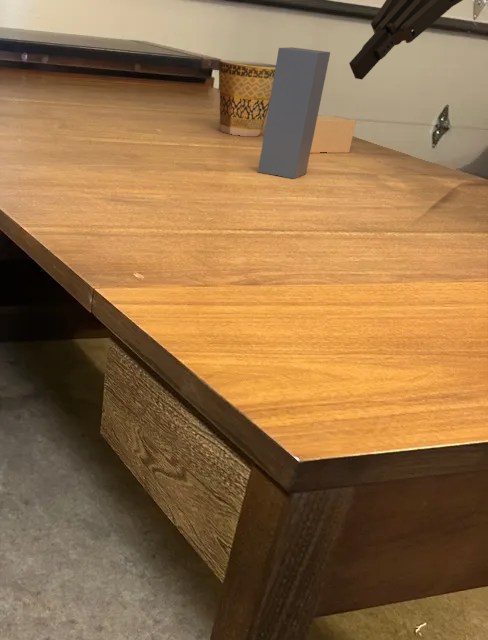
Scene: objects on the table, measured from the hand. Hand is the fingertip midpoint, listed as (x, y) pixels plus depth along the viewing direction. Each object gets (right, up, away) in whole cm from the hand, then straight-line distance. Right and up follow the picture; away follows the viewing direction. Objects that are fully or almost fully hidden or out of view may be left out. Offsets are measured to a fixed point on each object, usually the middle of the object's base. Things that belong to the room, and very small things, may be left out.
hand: (355, 71), depth 122 cm
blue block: (-14, -22, -15) cm, 30 cm away
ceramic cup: (-15, -3, +14) cm, 20 cm away
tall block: (-1, -7, +5) cm, 9 cm away
